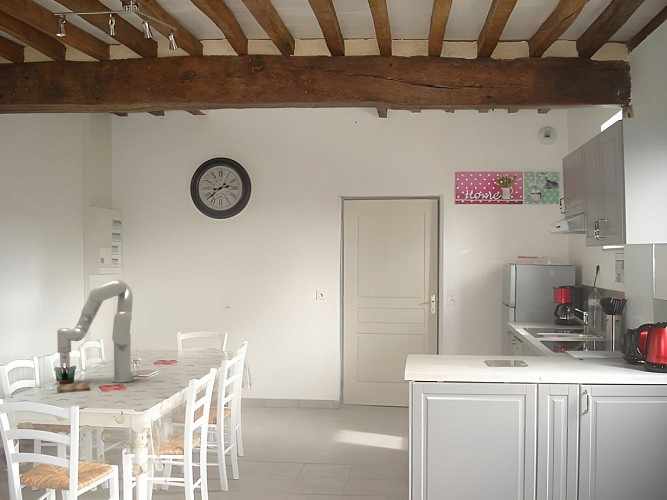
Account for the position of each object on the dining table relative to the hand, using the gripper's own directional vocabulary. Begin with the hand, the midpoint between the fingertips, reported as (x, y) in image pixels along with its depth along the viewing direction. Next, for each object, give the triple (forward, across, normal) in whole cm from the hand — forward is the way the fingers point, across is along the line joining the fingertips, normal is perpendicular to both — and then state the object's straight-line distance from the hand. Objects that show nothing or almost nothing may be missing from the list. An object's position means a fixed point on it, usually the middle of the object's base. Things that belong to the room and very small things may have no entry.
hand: (64, 378), depth 409 cm
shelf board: (+3, -19, -5) cm, 20 cm away
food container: (+3, 0, 0) cm, 3 cm away
